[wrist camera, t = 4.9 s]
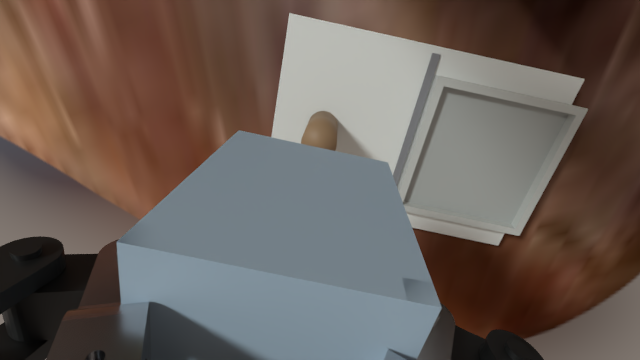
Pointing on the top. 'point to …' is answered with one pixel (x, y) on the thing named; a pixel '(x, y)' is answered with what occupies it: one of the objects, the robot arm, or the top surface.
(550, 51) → the top surface
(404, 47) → the board
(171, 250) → the blue-grey block
